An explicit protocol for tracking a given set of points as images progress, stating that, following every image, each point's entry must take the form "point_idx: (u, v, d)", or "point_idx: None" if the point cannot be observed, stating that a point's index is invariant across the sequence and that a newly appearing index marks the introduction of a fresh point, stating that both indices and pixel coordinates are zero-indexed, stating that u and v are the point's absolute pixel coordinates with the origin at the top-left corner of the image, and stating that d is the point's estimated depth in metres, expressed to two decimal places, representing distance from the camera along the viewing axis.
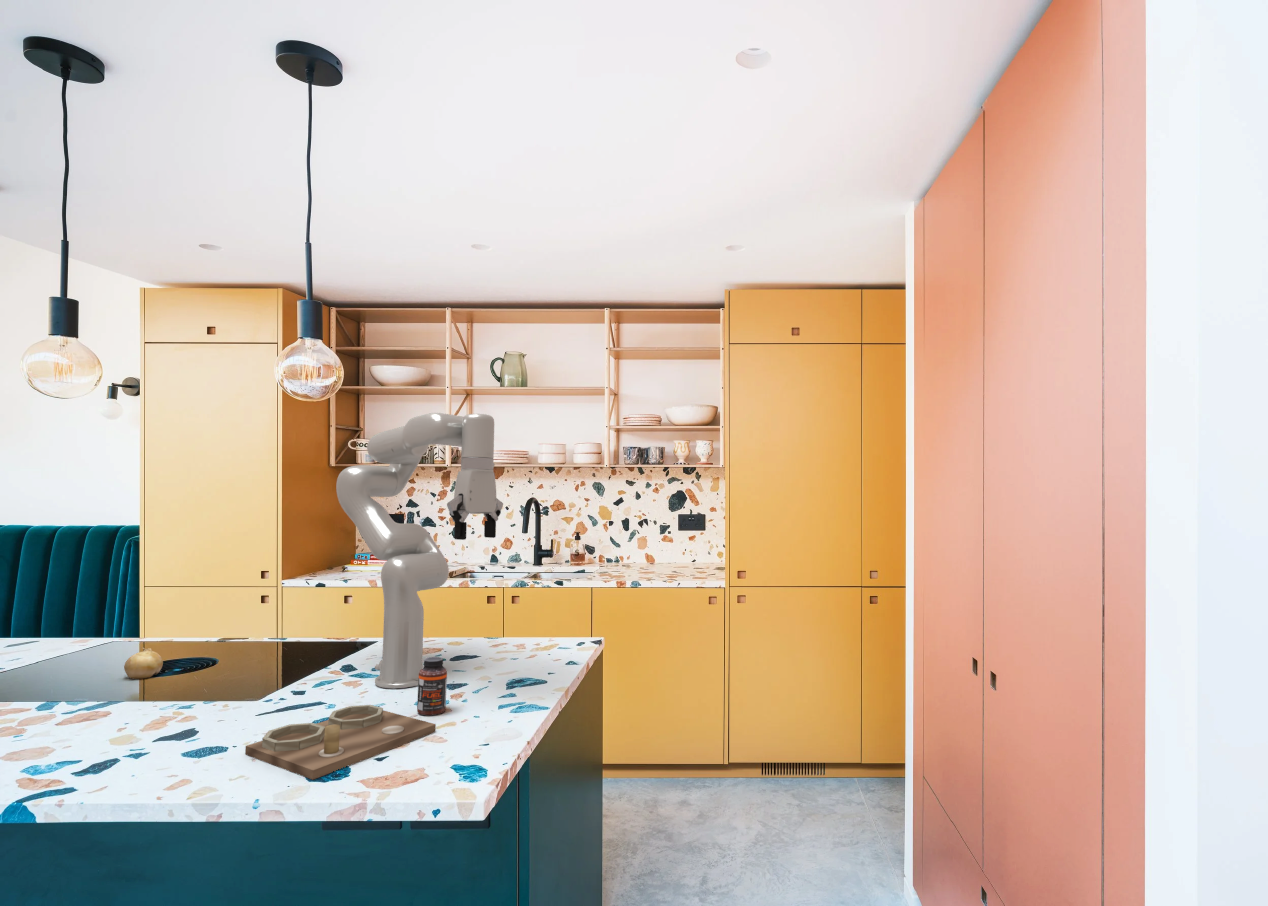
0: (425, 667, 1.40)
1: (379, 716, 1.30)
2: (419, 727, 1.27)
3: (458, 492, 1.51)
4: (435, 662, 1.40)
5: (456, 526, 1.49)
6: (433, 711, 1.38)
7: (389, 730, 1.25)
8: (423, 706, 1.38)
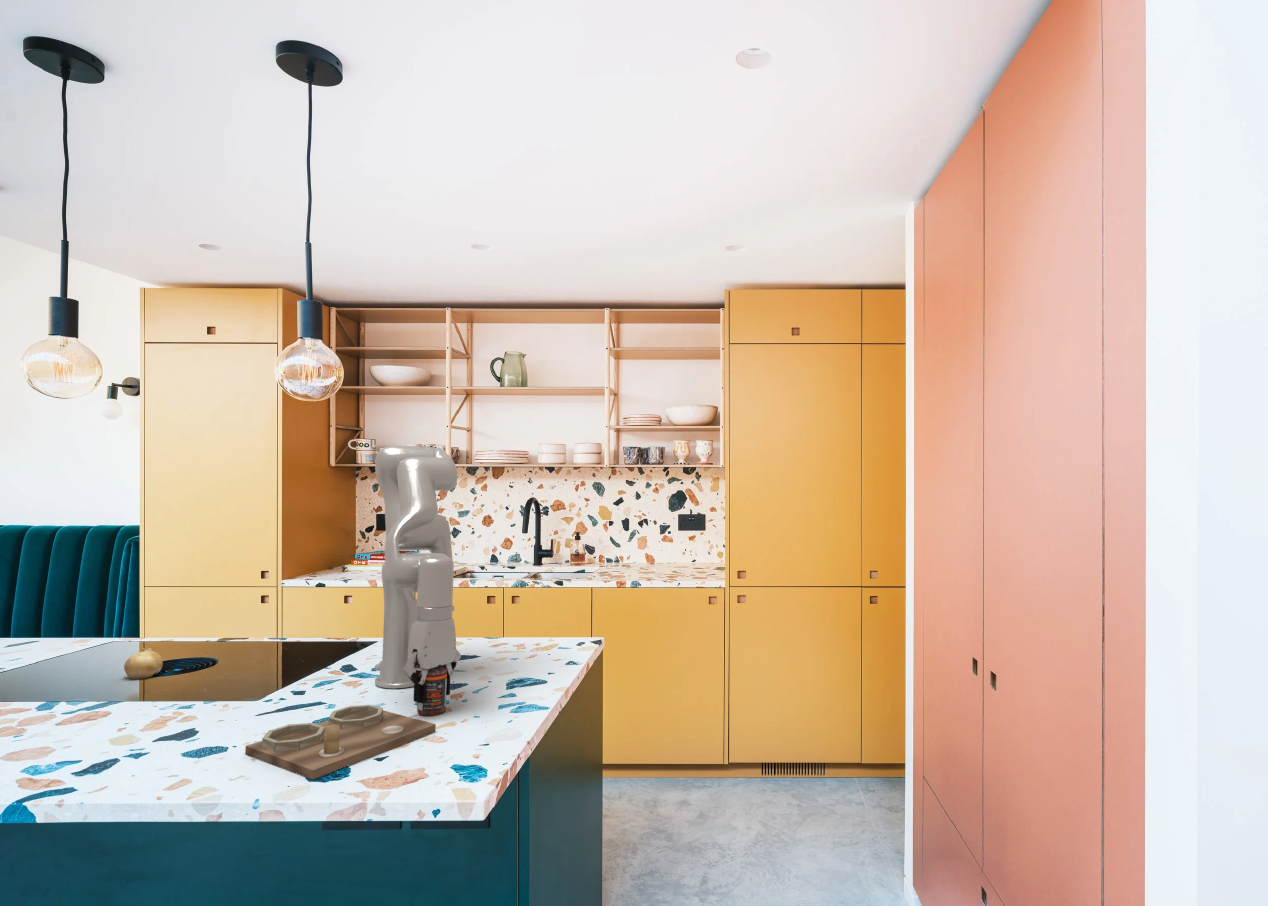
0: None
1: (379, 716, 1.30)
2: (419, 727, 1.27)
3: (412, 647, 1.38)
4: None
5: (415, 688, 1.38)
6: (433, 711, 1.38)
7: (389, 730, 1.25)
8: (423, 706, 1.38)
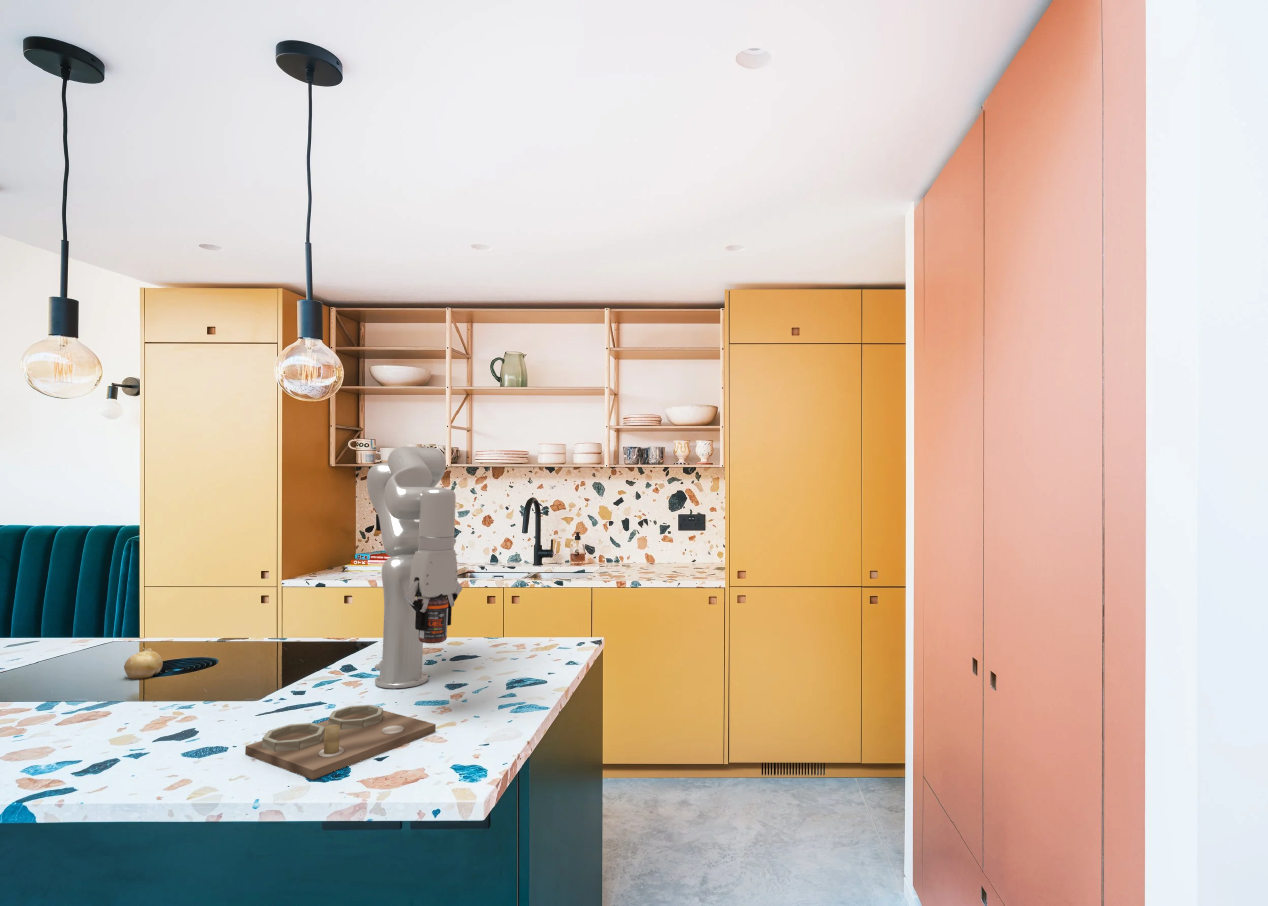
0: None
1: (379, 716, 1.30)
2: (419, 727, 1.27)
3: (414, 575, 1.39)
4: None
5: (417, 616, 1.39)
6: (434, 639, 1.40)
7: (389, 730, 1.25)
8: (425, 634, 1.40)
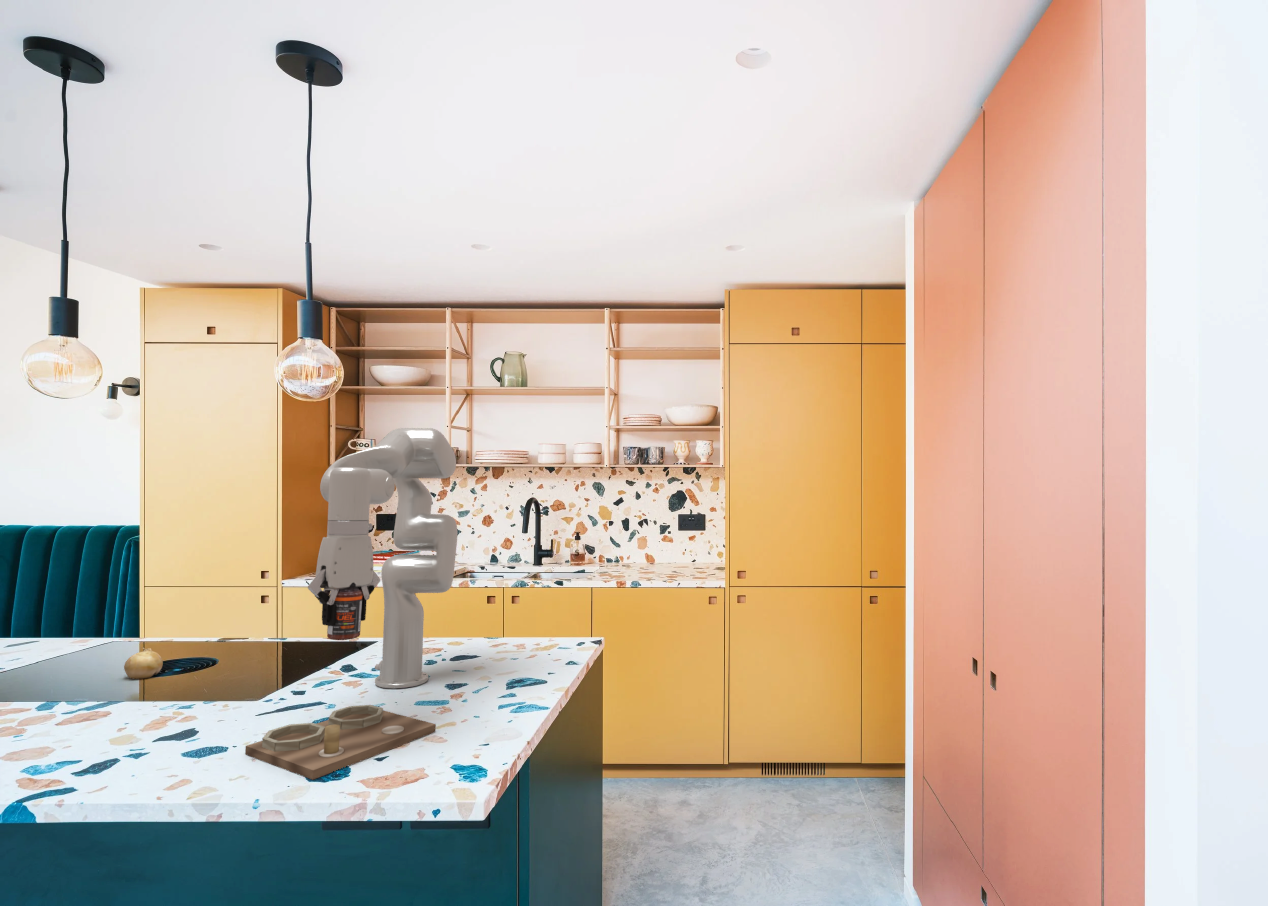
0: None
1: (379, 716, 1.30)
2: (419, 727, 1.27)
3: (321, 563, 1.24)
4: None
5: (324, 609, 1.24)
6: (344, 636, 1.24)
7: (389, 730, 1.25)
8: (333, 629, 1.24)
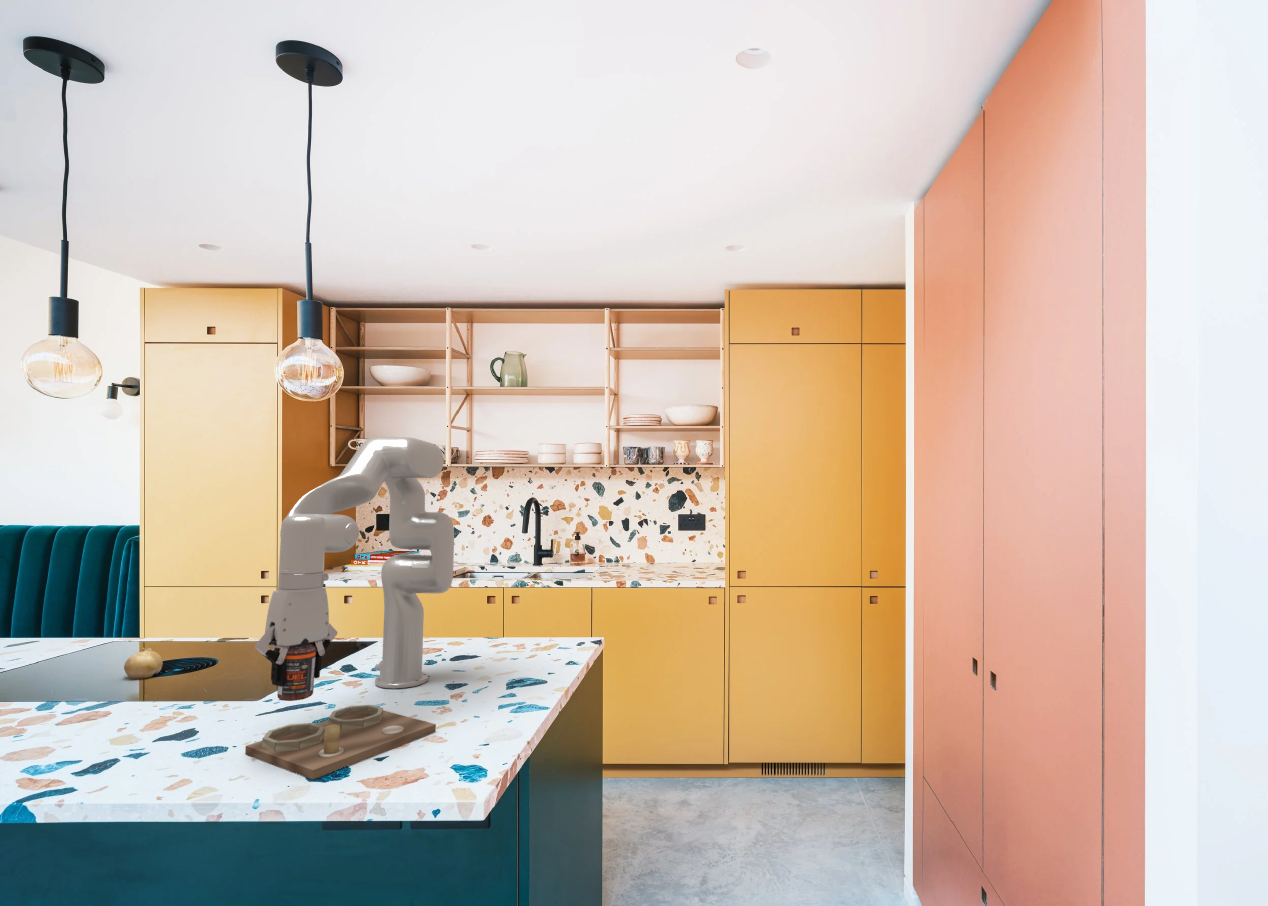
0: None
1: (379, 716, 1.30)
2: (419, 727, 1.27)
3: (270, 620, 1.17)
4: None
5: (273, 669, 1.17)
6: (294, 696, 1.17)
7: (389, 730, 1.25)
8: (283, 689, 1.17)
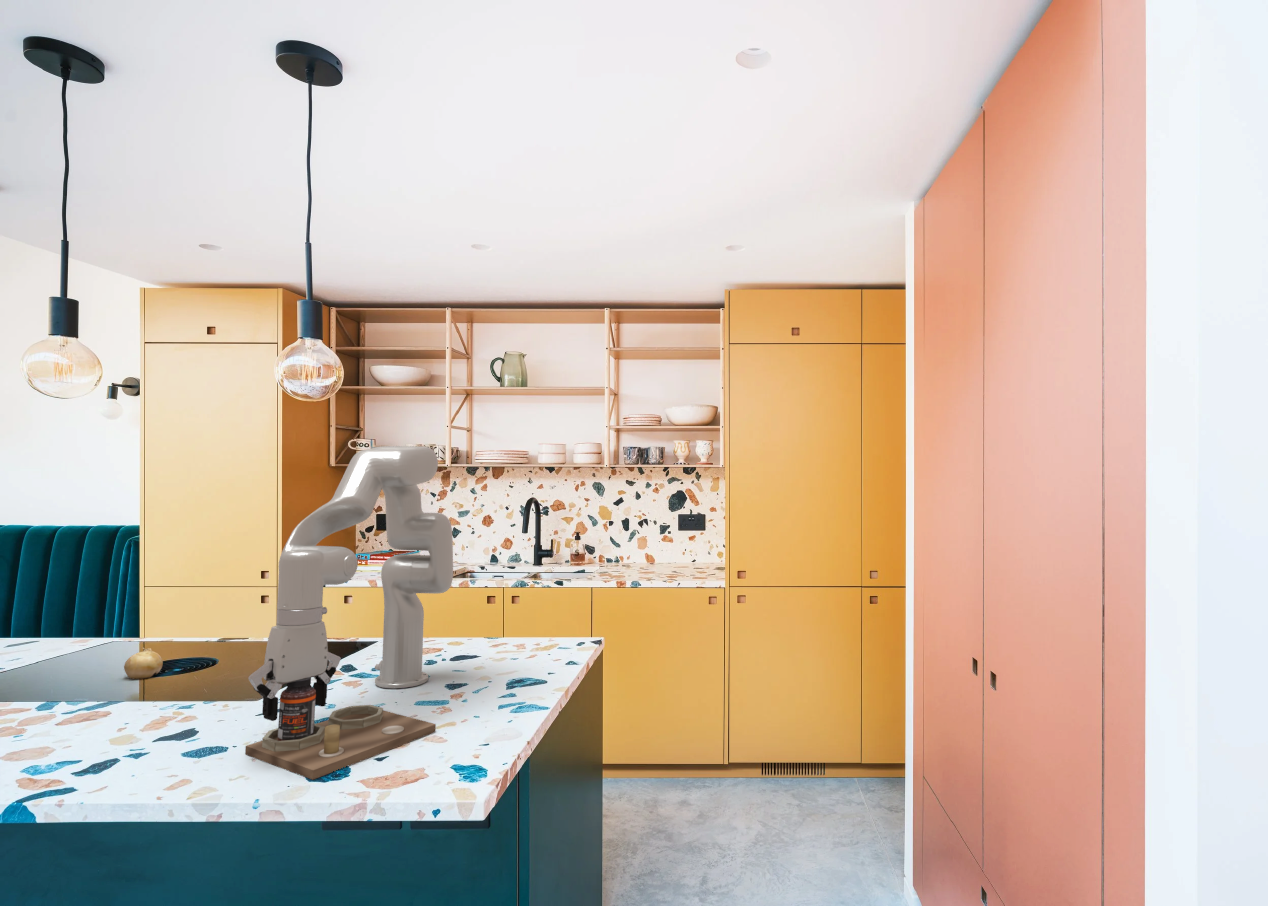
0: (287, 688, 1.19)
1: (379, 716, 1.30)
2: (419, 727, 1.27)
3: (268, 656, 1.17)
4: (299, 682, 1.19)
5: (264, 703, 1.16)
6: None
7: (389, 730, 1.25)
8: (283, 733, 1.17)
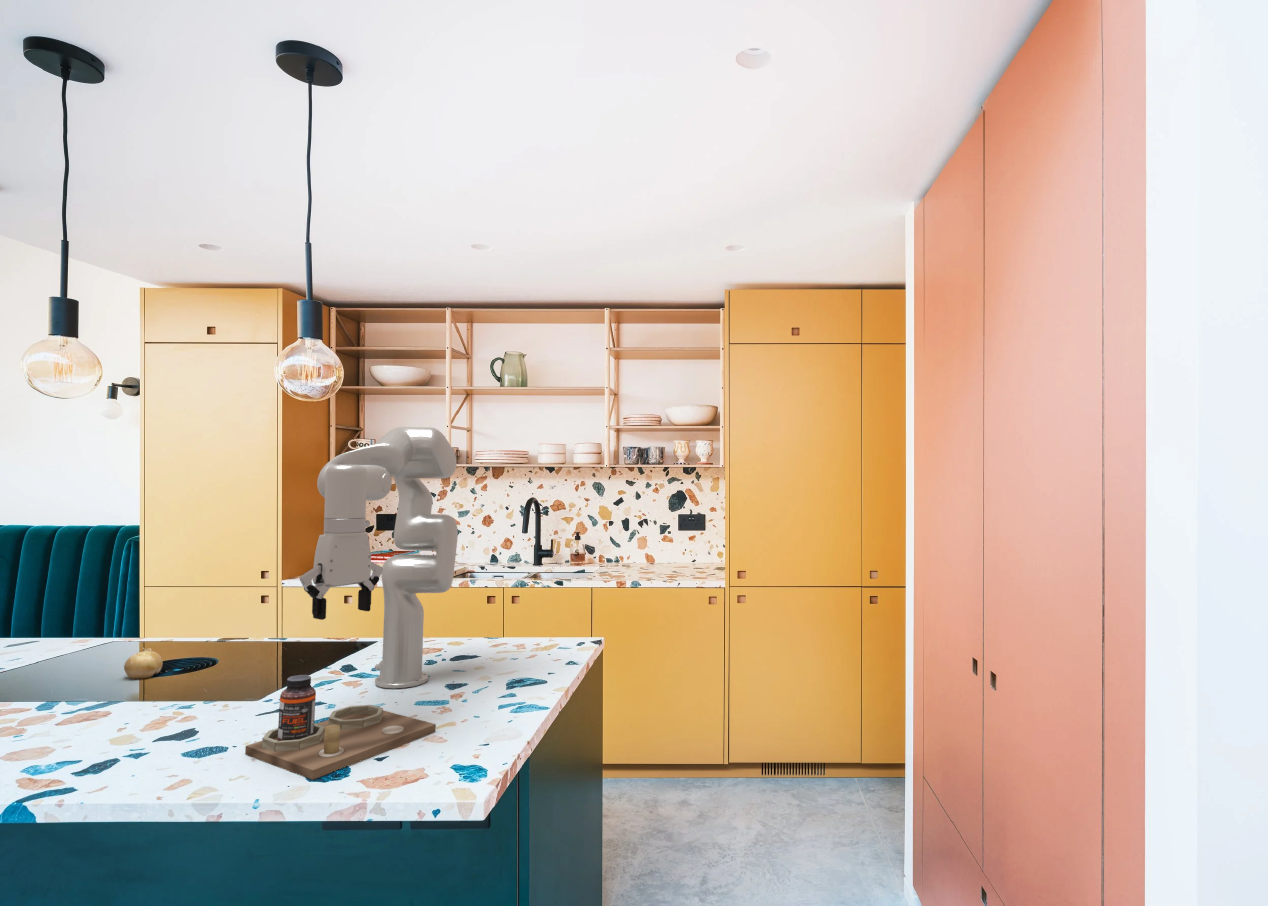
0: (287, 688, 1.19)
1: (379, 716, 1.30)
2: (419, 727, 1.27)
3: (317, 561, 1.25)
4: (299, 682, 1.19)
5: (314, 603, 1.24)
6: None
7: (389, 730, 1.25)
8: (283, 733, 1.17)
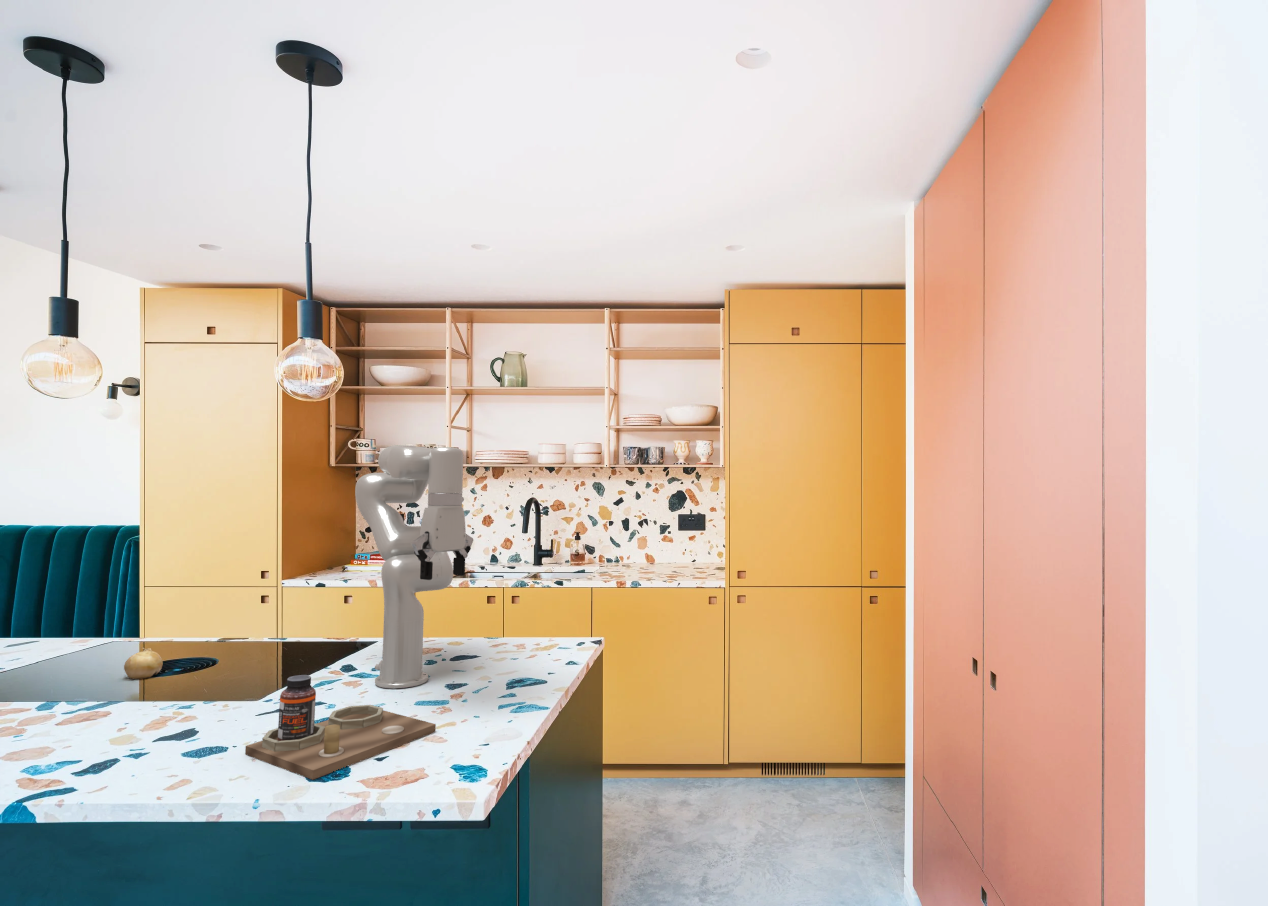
0: (287, 688, 1.19)
1: (379, 716, 1.30)
2: (419, 727, 1.27)
3: (424, 530, 1.44)
4: (299, 682, 1.19)
5: (422, 566, 1.43)
6: None
7: (389, 730, 1.25)
8: (283, 733, 1.17)
